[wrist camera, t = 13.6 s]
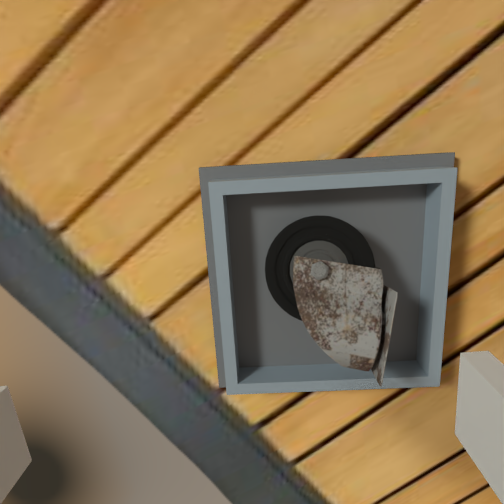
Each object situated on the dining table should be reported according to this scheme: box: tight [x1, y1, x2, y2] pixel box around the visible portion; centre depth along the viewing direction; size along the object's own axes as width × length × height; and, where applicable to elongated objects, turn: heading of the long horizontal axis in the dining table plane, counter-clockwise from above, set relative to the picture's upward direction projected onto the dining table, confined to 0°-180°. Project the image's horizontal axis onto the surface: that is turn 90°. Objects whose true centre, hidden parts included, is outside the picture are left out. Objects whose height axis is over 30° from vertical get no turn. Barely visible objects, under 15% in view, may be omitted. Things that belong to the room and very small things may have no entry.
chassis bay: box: [199, 153, 457, 395], centre depth 31 cm, size 20×20×4 cm
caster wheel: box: [265, 216, 398, 388], centre depth 29 cm, size 7×11×10 cm
